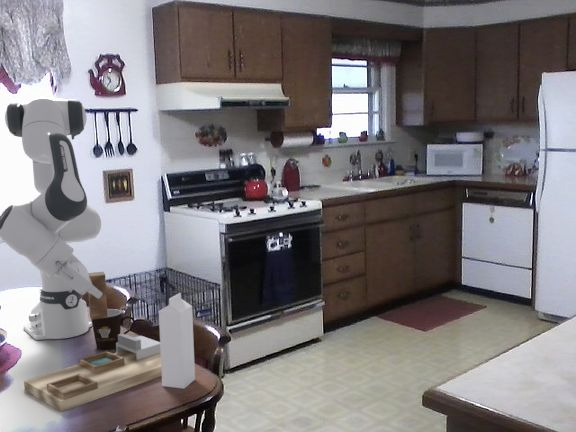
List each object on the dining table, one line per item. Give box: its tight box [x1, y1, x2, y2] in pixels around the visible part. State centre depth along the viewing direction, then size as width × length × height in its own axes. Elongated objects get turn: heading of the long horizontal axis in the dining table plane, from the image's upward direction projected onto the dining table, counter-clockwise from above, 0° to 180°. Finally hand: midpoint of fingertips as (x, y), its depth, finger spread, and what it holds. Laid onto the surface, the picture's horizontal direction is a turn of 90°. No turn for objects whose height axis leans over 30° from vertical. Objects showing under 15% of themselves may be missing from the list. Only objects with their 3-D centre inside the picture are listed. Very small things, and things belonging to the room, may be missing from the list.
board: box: [23, 350, 162, 413], centre depth 157 cm, size 18×33×4 cm, turn 138°
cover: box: [115, 332, 161, 360], centre depth 169 cm, size 10×8×5 cm
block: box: [87, 271, 108, 320], centre depth 159 cm, size 4×4×11 cm
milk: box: [158, 292, 196, 390], centre depth 153 cm, size 6×6×22 cm
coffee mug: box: [90, 308, 136, 352], centre depth 181 cm, size 12×9×10 cm
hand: (99, 293), depth 159 cm, fingers closed on block, 4 cm apart
